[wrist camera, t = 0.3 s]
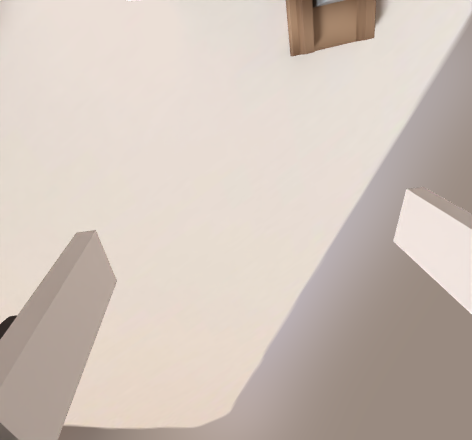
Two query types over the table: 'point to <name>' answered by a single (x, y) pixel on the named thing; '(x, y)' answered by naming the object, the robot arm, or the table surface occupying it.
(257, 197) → the table surface
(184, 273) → the table surface
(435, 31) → the table surface
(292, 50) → the rail
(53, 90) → the table surface
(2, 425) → the robot arm
